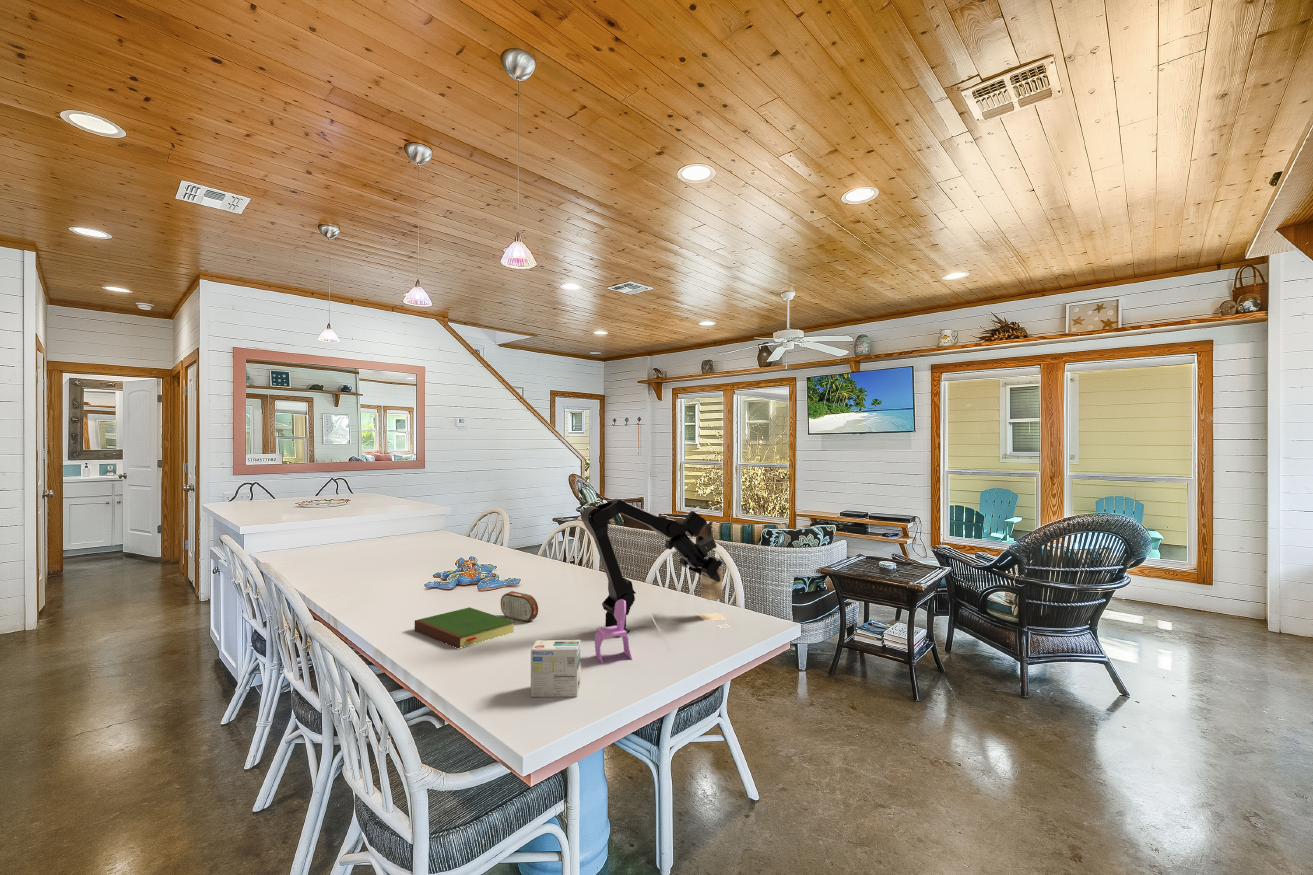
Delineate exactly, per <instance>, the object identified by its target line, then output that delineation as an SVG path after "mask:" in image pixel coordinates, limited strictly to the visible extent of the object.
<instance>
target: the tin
mask: <svg viewBox="0 0 1313 875" xmlns="http://www.w3.org/2000/svg"><path fill="white" fill-rule="evenodd" d="M500 610H501V612H502V614H503V615H504V616H505V617H506V618H509V619H511V618H512V619H511V620H517V621H520V622H524V623H529V622H530V621H533V620H535V619H536V618H537V617H538V614H539V605H538V602H537V601H536V598H534V596H532V595H531V594H526V593H523V592H518V591H514V590H510V591H508V592H506V593H504V594H503V595H502V596H501V598H500Z"/></svg>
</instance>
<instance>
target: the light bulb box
mask: <svg viewBox="0 0 1313 875" xmlns="http://www.w3.org/2000/svg"><path fill="white" fill-rule="evenodd" d="M580 688H581V639H563V640H562V639H558V640H556V639H555V640H539V639H538V640H535V642H534V644H533V646H532V648H531V650H530V698H550V697H551V698H556V697H557V698H558V697H559V698H561V697H564V698H566V697H567V698H568V697H571V698H572V697H578V695H579V691H580Z"/></svg>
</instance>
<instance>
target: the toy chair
mask: <svg viewBox="0 0 1313 875" xmlns="http://www.w3.org/2000/svg"><path fill="white" fill-rule="evenodd" d="M625 615H626V601H625V600H622V599H620V600H618V601H617V602H616V603H615V610H614V617H615V619H616V620H617V626H611V627H605V626H601V627H596V631H595V634H594V648H595V650H594V651H595V656H596V658H597V659H598V660H599V662H600V663H601V664H602V665H603V664H604V662H603V658H602V654H601V652H602V651H601V647H602V643H603V641H604V640H605V639H609V638H615V636H620V637H621V639H622V642H623V643H622V644H623V652H624V654H625V655H626V656H627V657H628V658H629V659H630V660H631V661H632V660H633V657H632V654H631V649H630V645H629V636H628V635H627V634H628V633H627V632H626V631H625V630H624V622H625ZM626 616H627V615H626Z"/></svg>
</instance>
